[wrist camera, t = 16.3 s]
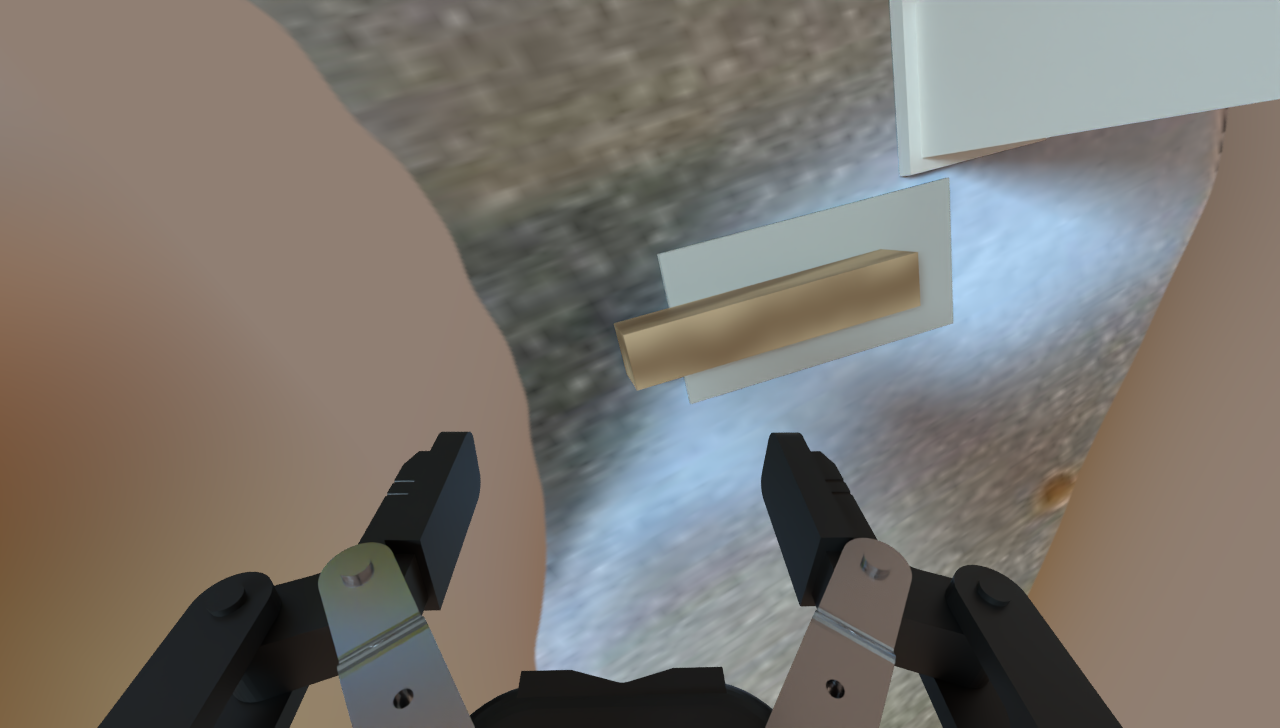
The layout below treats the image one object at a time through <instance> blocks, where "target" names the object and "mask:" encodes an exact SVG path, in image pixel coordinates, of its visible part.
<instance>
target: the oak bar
mask: <svg viewBox="0 0 1280 728" xmlns="http://www.w3.org/2000/svg"><path fill="white" fill-rule="evenodd" d="M918 306H921V304H920V283H919V262H918V252H911V251H898V250H885V249H879V250H876V251H872V252H869V253H865V254H861V255H858V256H854V257H851V258H847V259H844V260H840V261H836V262H833V263H829V264H826V265H822V266H818V267H815V268H811V269H808V270H804V271H800V272H797V273H793V274H790V275H786V276H783V277H779V278H775V279H772V280H768V281H765V282H761V283H757V284H754V285H750V286H747V287H743V288H739V289H736V290H732V291H729V292H725V293H722V294H718V295H714V296H711V297H707V298H704V299H700V300H696V301H693V302H689V303H686V304H682V305H678V306H675V307H671V308H668V309H664V310H661V311H657V312H653V313H650V314H646V315H643V316H639V317H635V318H632V319H628V320H625V321H621V322H617V323H614V326H615V330H616V334H617V338H618V342H619V346H620V350H621V353H622V357H623V361H624V365H625V369H626V373H627V375H628V376H629V378H630V380H631V381H632V383H633V384H634V386H635V388H636V389H637V390H641V389H644V388H647V387H651V386H654V385H657V384H661V383H664V382H667V381H671V380H674V379H677V378H681V377H684V376H687V375H691V374H694V373H698V372H701V371H704V370H708V369H711V368H714V367H718V366H721V365H724V364H728V363H731V362H734V361H738V360H741V359H744V358H748V357H751V356H754V355H758V354H761V353H764V352H768V351H771V350H774V349H778V348H781V347H784V346H788V345H791V344H794V343H798V342H801V341H804V340H808V339H811V338H815V337H818V336H821V335H825V334H828V333H831V332H835V331H838V330H841V329H845V328H848V327H851V326H855V325H858V324H861V323H865V322H868V321H871V320H875V319H878V318H881V317H885V316H888V315H891V314H895V313H898V312H901V311H905V310H908V309H911V308H915V307H918Z"/></svg>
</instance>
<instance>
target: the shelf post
mask: <svg viewBox="0 0 1280 728" xmlns="http://www.w3.org/2000/svg"><path fill="white" fill-rule="evenodd" d="M889 1H890V18H891V36H892V53H893V70H894V88H895V105H896V122H897V140H898V157H899V174H900V176H908V175H913V174H917V173H921V172H925V171H929V170H933V169H936V168H940V167H944V166H948V165H952V164H956V163H959V162H963V161H967V160H971V159H975V158H979V157H983V156H986V155H990V154H994V153H998V152H1002V151H1006V150H1009V149H1013V148H1017V147H1021V146H1025V145H1029V144H1032V143H1036V142H1040V141H1044V140H1046V138H1047V137H1053V136H1059V135H1065V134H1071V133H1077V132H1083V131H1089V130H1095V129H1101V128H1107V127H1113V126H1119V125H1125V124H1131V123H1138V122H1144V121H1150V120H1156V119H1162V118H1168V117H1174V116H1180V115H1186V114H1192V113H1198V112H1204V111H1210V110H1216V109H1222V108H1228V107H1234V106H1240V105H1247V104H1253V103H1259V102H1264V101H1271V100H1277V99H1280V0H889Z"/></svg>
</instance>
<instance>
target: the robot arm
mask: <svg viewBox="0 0 1280 728" xmlns="http://www.w3.org/2000/svg"><path fill="white" fill-rule="evenodd" d="M761 489H762V495H763V499H764V502H765V505H766V508H767V511H768V514H769V517H770V520H771V523H772V525H773V528H774V531H775V534H776V537H777V540H778V543H779V546H780V549H781V552H782V555H783V558H784V561H785V564H786V566H787V569H788V572H789V575H790V578H791V581H792V584H793V587H794V590H795V593H796V596H797V599H798V602H799V605H800V606H816V608H817V610H816V611H815V613H814V615H813V617H812V619H811V622H810V624H809V626H808V629H807V631H806V633H805V636H804V638H803V640H802V643H801V645H800V647H799V650H798V652H797V654H796V657H795V659H794V661H793V664H792V666H791V668H790V671H789V673H788V675H787V678H786V680H785V682H784V685H783V687H782V689H781V692H780V694H779V696H778V699H777V701H776V703H775V706H774V708H773V709H772V708H770V707H769V706H768V705H767V704H765V703H764V702H763V701H761V700H760V699H758V698H757V697H755V696H753V695H752V694H750V693H748V692H746V691H744V690H742V689H739V688H737V687H734V686H732V685H728V684H725V680H724V674H723V668H722V667H697V668H672V669H669V670H665V671H662V672H659V673H656V674H652V675H649V676H646V677H643V678H639V679H636V680H633V681H629V682H625V683H620V682H615V681H611V680H607V679H604V678H600V677H596V676H592V675H588V674H584V673H581V672H577V671H573V670H549V671H522V672H521V676H520V682H519V688H517V689H514V690H511V691H508V692H507V693H504V694H502V695H499V696H497V697H496V698H494V699H492V700H491V701H489V702H487V703H486V704H484V705H483V706H481V707H480V708H479V709H477V710H476V711H475V712H473V713H472V714H471V715H470V716H469V714H468V711H467V709H466V707H465V705H464V703H463V701H462V698H461V696H460V694H459V692H458V689H457V687H456V685H455V683H454V681H453V679H452V677H451V674H450V672H449V670H448V668H447V665H446V663H445V661H444V659H443V657H442V654H441V652H440V650H439V648H438V646H437V644H436V641H435V639H434V637H433V635H432V633H431V630H430V628H429V626H428V624H427V622H426V620H425V618H424V617H423V616H422V614H423V611H424V610H440V609H441V606H442V603H443V600H444V598H445V594H446V592H447V589H448V586H449V583H450V580H451V577H452V574H453V571H454V568H455V565H456V562H457V559H458V557H459V554H460V551H461V548H462V545H463V542H464V539H465V536H466V533H467V530H468V527H469V524H470V521H471V519H472V516H473V513H474V510H475V507H476V504H477V501H478V498H479V493H480V472H479V467H478V461H477V455H476V450H475V444H474V439H473V435H472V433H471V432H441V433H440V434H439V435H438V437H437V439H436V441H435V442H434V444H433V447H432V448H431V450H430V451H419V452H418V453H416V454H415V455H414V456H413V457H412V458H411V459H409V460H408V461H407V462H406V463H405V464H404V465H403V466H402V468H401V470H400V471H399V474H398V475H397V477H396V478H395V482H394V483H393V484H392V486H391V487H390V489H389V491H388V493H387V496H385V498H384V500H383V501H382V503H381V505H380V507H379V508H378V510H377V512H376V514H375V516H374V517H373V519H372V521H371V522H370V525H369V526H368V528H367V529H366V531H365V533H364V535H363V537H362V538H361V540H360V542H359V543H358V545H355V546H352V547H350V548H348V549H346V550H344V551H342V552H341V553H339V554H338V555H336V556H335V557H334V558H333V559H332V560H330V561H329V562H328V563H327V565H326V566H325V567H324V569H323V570H322V572H321V573H319V574H316V575H313V576H309V577H306V578H302V579H298V580H294V581H291V582H287V583H283V584H279V585H276V586H274V585H273V583H272V581H271V580H270V578H269V577H268V576H267V575H265V574H263V573H259V572H245V573H241V574H236V575H233V576H231V577H228V578H226V579H224V580H221V581H220V582H218V583H216V584H214V585H213V586H211V587H210V588H208V589H207V590H206V591H204V592H203V593H202V594H200V595H199V596H198V597H197V598H196V599H195V600H194V601H193V602H192V604H191V605H190V606H189V607H188V609H187V610H186V611H185V613H184V614H183V615H182V617H181V618H180V619H179V621H178V622H177V623H176V625H175V626H174V627H173V629H172V630H171V631H170V633H169V634H168V635H167V637H166V638H165V639H164V640H163V642H162V643H161V645H160V646H159V647H158V648H157V650H156V651H155V652H154V654H153V655H152V656H151V658H150V659H149V660H148V662H147V663H146V664H145V666H144V667H143V668H142V670H141V671H140V672H139V674H138V675H137V676H136V678H135V679H134V680H133V681H132V683H131V684H130V685H129V687H128V688H127V690H126V691H125V692H124V693H123V695H122V696H121V698H120V699H119V700H118V701H117V703H116V704H115V705H114V707H113V708H112V709H111V711H110V712H109V713H108V715H107V716H106V717H105V719H104V720H103V721H102V723H101V724H100V725H99V726H98V728H290V725H291V723H292V721H293V719H294V717H295V715H296V712H297V710H298V708H299V706H300V704H301V701H302V699H303V697H304V695H305V693H306V691H307V688H308V686H309V685H311V684H314V683H317V682H320V681H323V680H326V679H329V678H332V677H335V676H338V675H339V679H340V683H341V686H342V690H343V694H344V698H345V701H346V705H347V709H348V712H349V716H350V720H351V723H352V727H353V728H879V725H880V721H881V717H882V713H883V709H884V705H885V701H886V697H887V693H888V689H889V685H890V681H891V677H892V673H893V669H894V666H897V667H900V668H904V669H907V670H910V671H913V672H917V673H919V675H920V677H921V679H922V682H923V684H924V686H925V688H926V691H927V693H928V695H929V697H930V700H931V702H932V704H933V706H934V709H935V711H936V713H937V715H938V718H939V720H940V722H941V724H942V727H943V728H1123V727H1122V726H1121V725H1120V723H1119V722H1118V721H1117V719H1116V718H1115V716H1114V715H1113V714H1112V712H1111V711H1110V709H1109V708H1108V707H1107V705H1106V704H1105V703H1104V701H1103V700H1102V699H1101V697H1100V696H1099V694H1098V693H1097V692H1096V690H1095V689H1094V688H1093V686H1092V685H1091V683H1090V682H1089V681H1088V679H1087V678H1086V676H1085V675H1084V674H1083V672H1082V671H1081V670H1080V668H1079V667H1078V665H1077V664H1076V663H1075V661H1074V660H1073V658H1072V657H1071V656H1070V655H1069V653H1068V652H1067V650H1066V649H1065V647H1064V646H1063V645H1062V643H1061V642H1060V641H1059V639H1058V638H1057V636H1056V635H1055V634H1054V632H1053V631H1052V629H1051V628H1050V627H1049V625H1048V624H1047V623H1046V621H1045V620H1044V619H1043V617H1042V616H1041V615H1040V613H1039V612H1038V610H1037V609H1036V607H1035V606H1034V605H1033V603H1032V602H1031V600H1030V599H1029V598H1028V596H1027V595H1026V594H1025V593H1024V591H1023V590H1022V589H1021V588H1020V587H1019V586H1018V585H1017V584H1016V583H1014V582H1013V581H1012V580H1010V579H1009V578H1007V577H1006V576H1004V575H1003V574H1001V573H999V572H997V571H995V570H992V569H990V568H987V567H983V566H978V565H967V566H963V567H961V568H959V569H958V570H957V571H956V573H955V574H954V576H953V578H949V577H945V576H942V575H938V574H934V573H930V572H926V571H922V570H919V569H916V568H913V567H910V566H909V565H908V563H907V561H906V560H905V559H904V557H903V556H902V555H901V554H900V553H899V552H898V551H896V550H895V549H894V548H892V547H891V546H889V545H887V544H885V543H883V542H881V541H878V540H877V538H876V537H875V535H874V533H873V531H872V529H871V528H870V526H869V524H868V522H867V521H866V519H865V517H864V515H863V513H862V512H861V510H860V508H859V506H858V504H857V503H856V501H855V499H854V497H853V495H851V494H850V490H849V488H848V487H847V485H846V483H845V482H844V481H843V478H842V476H841V474H840V472H839V470H838V469H837V467H836V465H835V464H834V463H833V462H832V461H831V460H829V459H828V458H827V457H826V456H825V455H824V454H823V453H821V452H820V451H810V450H809V448H808V446H807V444H806V442H805V440H804V438H803V436H802V435H801V434H800V433H771V434H770V436H769V440H768V445H767V450H766V455H765V460H764V465H763V470H762V476H761Z"/></svg>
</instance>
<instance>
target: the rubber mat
mask: <svg viewBox="0 0 1280 728" xmlns="http://www.w3.org/2000/svg"><path fill="white" fill-rule="evenodd" d="M879 249H885V250H898V251H911V252H918V262H919V283H920V304H921V306H918V307H915V308H911V309H908V310H905V311H901V312H898V313H895V314H891V315H888V316H885V317H881V318H878V319H875V320H871V321H868V322H865V323H861V324H858V325H855V326H851V327H848V328H845V329H841V330H838V331H835V332H831V333H828V334H825V335H821V336H818V337H815V338H811V339H808V340H804V341H801V342H798V343H794V344H791V345H788V346H784V347H781V348H778V349H774V350H771V351H768V352H764V353H761V354H758V355H754V356H751V357H748V358H744V359H741V360H738V361H734V362H731V363H728V364H724V365H721V366H718V367H714V368H711V369H708V370H704V371H701V372H698V373H694V374H691V375H687V376H684V380H685V384H686V389H687V393H688V398H689V402H690V404H693V403H696V402H700V401H703V400H706V399H709V398H712V397H716V396H719V395H722V394H725V393H729V392H732V391H735V390H738V389H742V388H745V387H748V386H751V385H755V384H758V383H761V382H764V381H768V380H771V379H774V378H777V377H780V376H784V375H787V374H790V373H793V372H797V371H800V370H803V369H806V368H810V367H813V366H816V365H819V364H823V363H826V362H829V361H832V360H835V359H839V358H842V357H845V356H848V355H852V354H855V353H858V352H861V351H865V350H868V349H871V348H874V347H878V346H881V345H884V344H887V343H891V342H894V341H897V340H900V339H903V338H907V337H910V336H913V335H916V334H920V333H923V332H926V331H929V330H933V329H936V328H939V327H942V326H946V325H949V324H952V323H953V301H952V264H951V227H950V190H949V178H944V179H940V180H936V181H932V182H929V183H925V184H921V185H917V186H913V187H910V188H906V189H902V190H898V191H894V192H891V193H887V194H883V195H879V196H876V197H872V198H868V199H864V200H860V201H857V202H853V203H849V204H845V205H841V206H838V207H834V208H830V209H826V210H822V211H819V212H815V213H811V214H807V215H804V216H800V217H796V218H792V219H788V220H785V221H781V222H777V223H773V224H769V225H766V226H762V227H758V228H754V229H750V230H747V231H743V232H739V233H735V234H732V235H728V236H724V237H720V238H716V239H713V240H709V241H705V242H701V243H697V244H694V245H690V246H686V247H682V248H679V249H675V250H671V251H667V252H663V253H660V254H657V256H658V260H659V265H660V269H661V274H662V279H663V283H664V288H665V292H666V297H667V301H668V306H669V308H671V307H675V306H678V305H682V304H686V303H689V302H693V301H696V300H700V299H704V298H707V297H711V296H714V295H718V294H722V293H725V292H729V291H732V290H736V289H739V288H743V287H747V286H750V285H754V284H757V283H761V282H765V281H768V280H772V279H775V278H779V277H783V276H786V275H790V274H793V273H797V272H800V271H804V270H808V269H811V268H815V267H818V266H822V265H826V264H829V263H833V262H836V261H840V260H844V259H847V258H851V257H854V256H858V255H861V254H865V253H869V252H872V251H876V250H879Z"/></svg>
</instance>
